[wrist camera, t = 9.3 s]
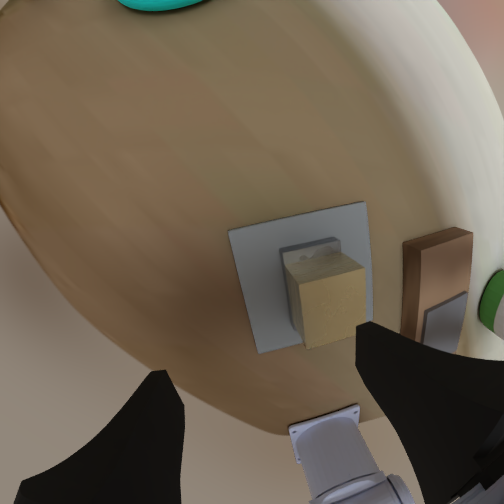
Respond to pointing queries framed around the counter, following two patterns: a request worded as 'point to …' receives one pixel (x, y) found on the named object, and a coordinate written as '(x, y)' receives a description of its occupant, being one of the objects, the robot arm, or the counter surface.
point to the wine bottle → (494, 305)
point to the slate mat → (270, 268)
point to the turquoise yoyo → (157, 4)
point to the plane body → (436, 287)
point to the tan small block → (323, 291)
